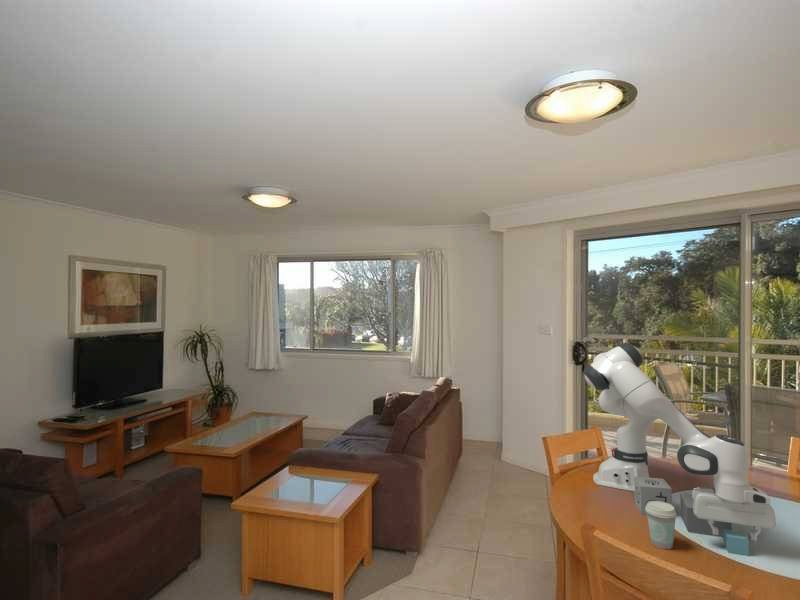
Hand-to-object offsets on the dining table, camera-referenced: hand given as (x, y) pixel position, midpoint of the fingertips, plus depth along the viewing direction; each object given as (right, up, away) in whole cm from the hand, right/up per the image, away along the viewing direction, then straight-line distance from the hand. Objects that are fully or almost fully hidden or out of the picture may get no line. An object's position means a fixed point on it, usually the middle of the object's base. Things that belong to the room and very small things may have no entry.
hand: (733, 537), depth 134 cm
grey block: (+2, -5, +15) cm, 16 cm away
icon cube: (-8, -6, +29) cm, 30 cm away
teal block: (+1, -4, 0) cm, 4 cm away
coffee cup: (-19, -5, +4) cm, 20 cm away
